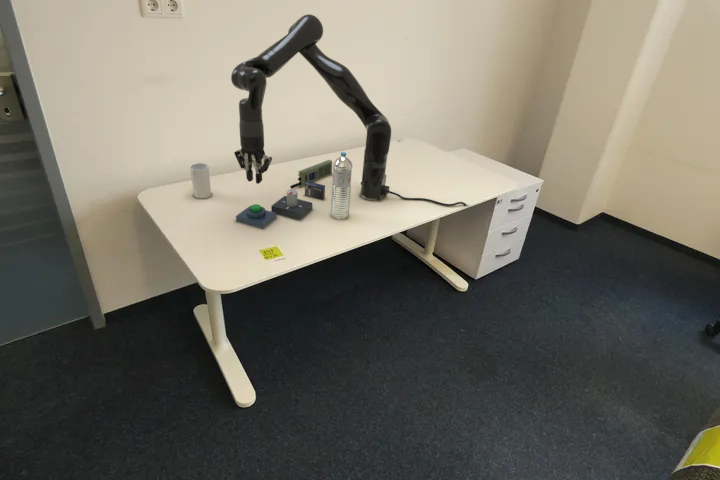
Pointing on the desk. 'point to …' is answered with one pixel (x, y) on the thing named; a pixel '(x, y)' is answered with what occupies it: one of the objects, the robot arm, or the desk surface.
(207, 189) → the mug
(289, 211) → the dial panel
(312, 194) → the mini dv tape
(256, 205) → the button
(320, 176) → the handheld radio
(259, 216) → the housing
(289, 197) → the program dial
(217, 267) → the desk surface
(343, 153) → the water bottle
